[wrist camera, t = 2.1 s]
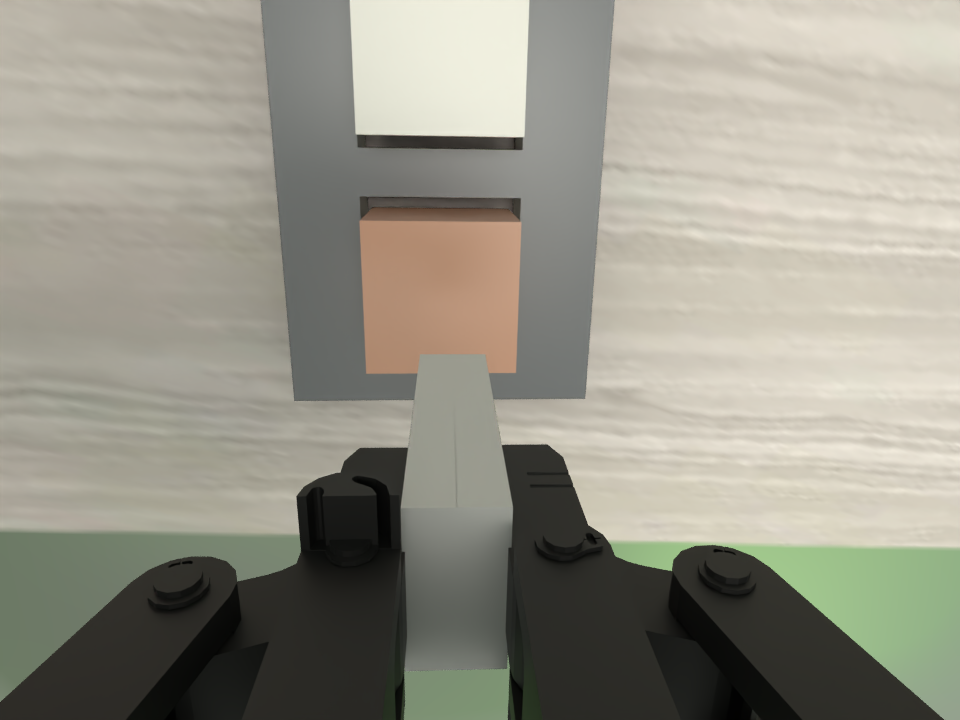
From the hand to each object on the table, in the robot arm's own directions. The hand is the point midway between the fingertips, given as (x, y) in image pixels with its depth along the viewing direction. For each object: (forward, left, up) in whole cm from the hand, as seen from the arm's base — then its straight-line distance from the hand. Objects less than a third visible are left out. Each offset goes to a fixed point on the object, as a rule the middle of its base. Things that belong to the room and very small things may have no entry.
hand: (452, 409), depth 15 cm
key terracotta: (0, 0, -15) cm, 15 cm away
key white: (0, +9, -15) cm, 18 cm away
